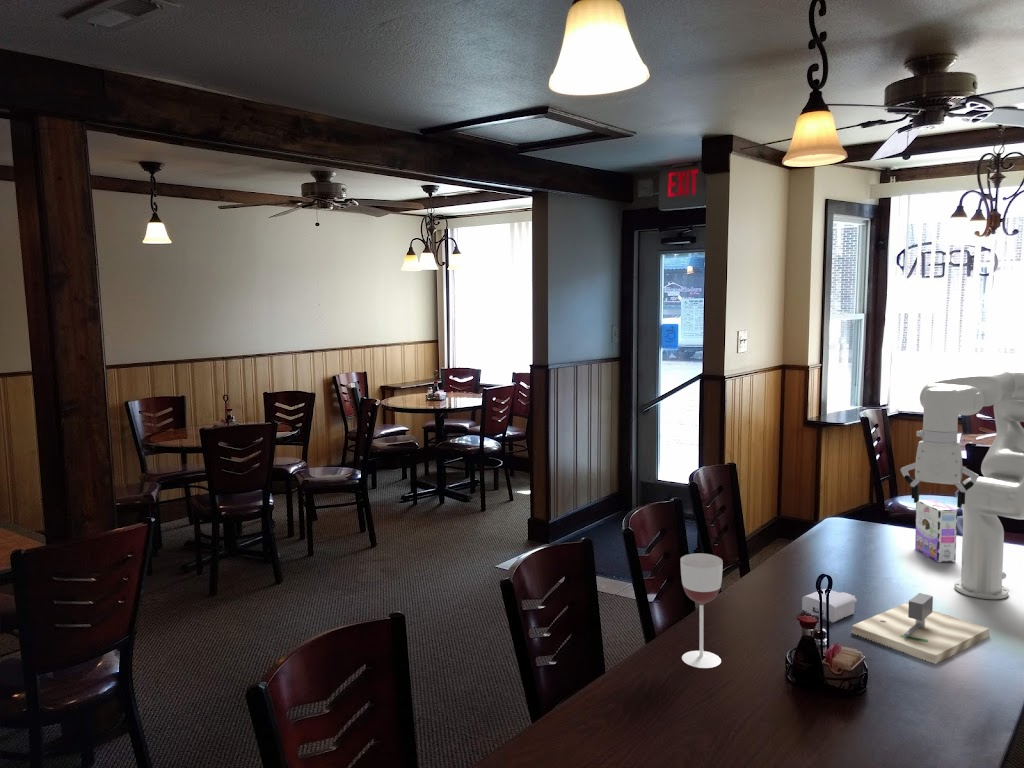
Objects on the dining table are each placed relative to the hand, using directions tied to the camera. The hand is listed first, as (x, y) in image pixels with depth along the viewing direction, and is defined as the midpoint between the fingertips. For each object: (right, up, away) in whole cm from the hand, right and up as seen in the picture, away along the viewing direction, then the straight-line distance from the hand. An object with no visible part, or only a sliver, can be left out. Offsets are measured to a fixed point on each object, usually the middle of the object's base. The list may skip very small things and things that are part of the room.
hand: (937, 504), depth 194 cm
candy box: (+25, -24, +46) cm, 57 cm away
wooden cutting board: (-10, -30, -10) cm, 33 cm away
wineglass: (-65, -32, -20) cm, 75 cm away
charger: (-23, -29, +6) cm, 38 cm away
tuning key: (-12, -28, -12) cm, 33 cm away
